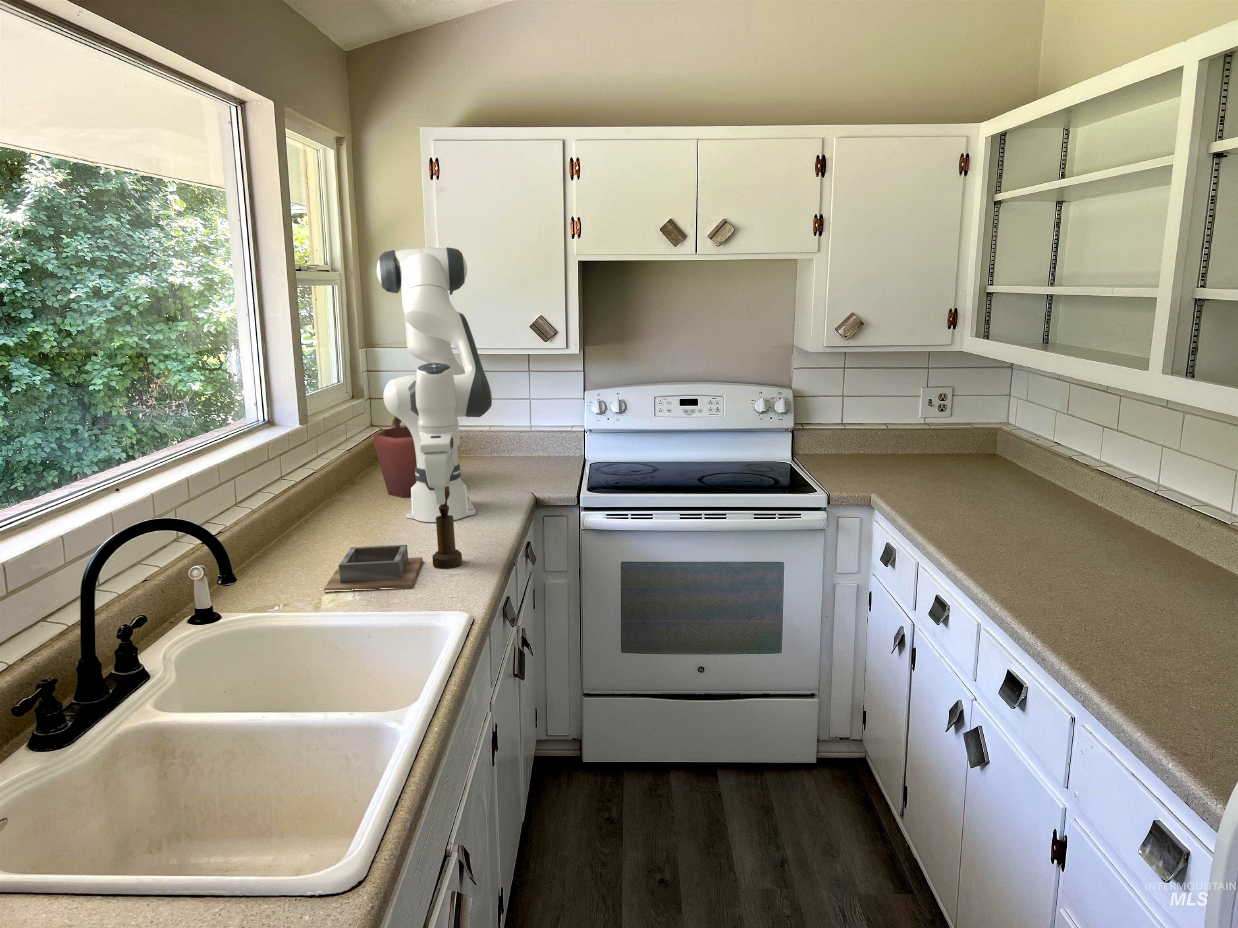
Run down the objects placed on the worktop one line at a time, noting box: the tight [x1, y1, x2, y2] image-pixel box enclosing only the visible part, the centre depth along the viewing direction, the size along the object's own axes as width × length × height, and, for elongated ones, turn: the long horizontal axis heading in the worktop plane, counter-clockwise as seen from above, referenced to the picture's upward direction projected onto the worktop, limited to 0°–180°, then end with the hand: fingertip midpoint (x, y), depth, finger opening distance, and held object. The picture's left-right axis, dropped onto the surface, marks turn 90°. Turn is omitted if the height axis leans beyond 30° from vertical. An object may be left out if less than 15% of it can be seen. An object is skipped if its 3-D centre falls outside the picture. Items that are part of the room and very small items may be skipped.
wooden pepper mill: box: [432, 487, 463, 569], centre depth 198 cm, size 7×6×18 cm
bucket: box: [372, 415, 417, 499], centre depth 266 cm, size 24×22×25 cm
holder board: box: [323, 544, 424, 592], centre depth 192 cm, size 18×18×5 cm
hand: (443, 498), depth 196 cm, fingers open, 8 cm apart
